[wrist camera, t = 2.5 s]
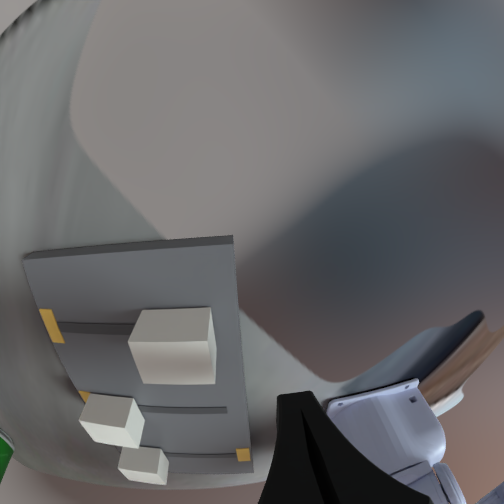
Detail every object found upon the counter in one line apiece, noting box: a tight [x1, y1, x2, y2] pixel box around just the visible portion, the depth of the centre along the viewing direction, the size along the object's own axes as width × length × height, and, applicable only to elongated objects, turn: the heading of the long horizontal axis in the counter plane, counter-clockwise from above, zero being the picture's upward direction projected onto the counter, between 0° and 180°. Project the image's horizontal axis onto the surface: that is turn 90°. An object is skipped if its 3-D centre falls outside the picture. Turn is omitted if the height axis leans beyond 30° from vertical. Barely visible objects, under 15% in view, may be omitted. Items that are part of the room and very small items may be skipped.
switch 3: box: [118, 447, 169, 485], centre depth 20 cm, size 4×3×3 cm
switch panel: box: [22, 235, 254, 474], centre depth 19 cm, size 14×26×2 cm, turn 3°
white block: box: [128, 307, 217, 385], centre depth 14 cm, size 4×3×3 cm
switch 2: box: [79, 393, 145, 449], centre depth 17 cm, size 4×3×3 cm
